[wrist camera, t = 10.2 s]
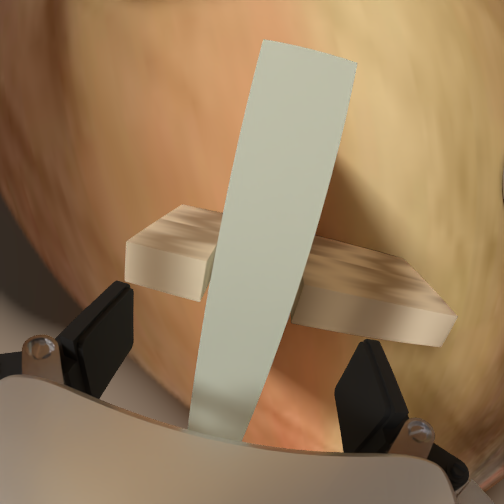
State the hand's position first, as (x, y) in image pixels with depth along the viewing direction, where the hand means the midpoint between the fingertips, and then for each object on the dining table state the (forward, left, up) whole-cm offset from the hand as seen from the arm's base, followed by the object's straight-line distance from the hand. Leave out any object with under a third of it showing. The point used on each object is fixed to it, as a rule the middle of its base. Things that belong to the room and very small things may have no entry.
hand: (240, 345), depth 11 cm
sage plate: (0, 0, -14) cm, 14 cm away
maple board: (-3, 0, -14) cm, 15 cm away
